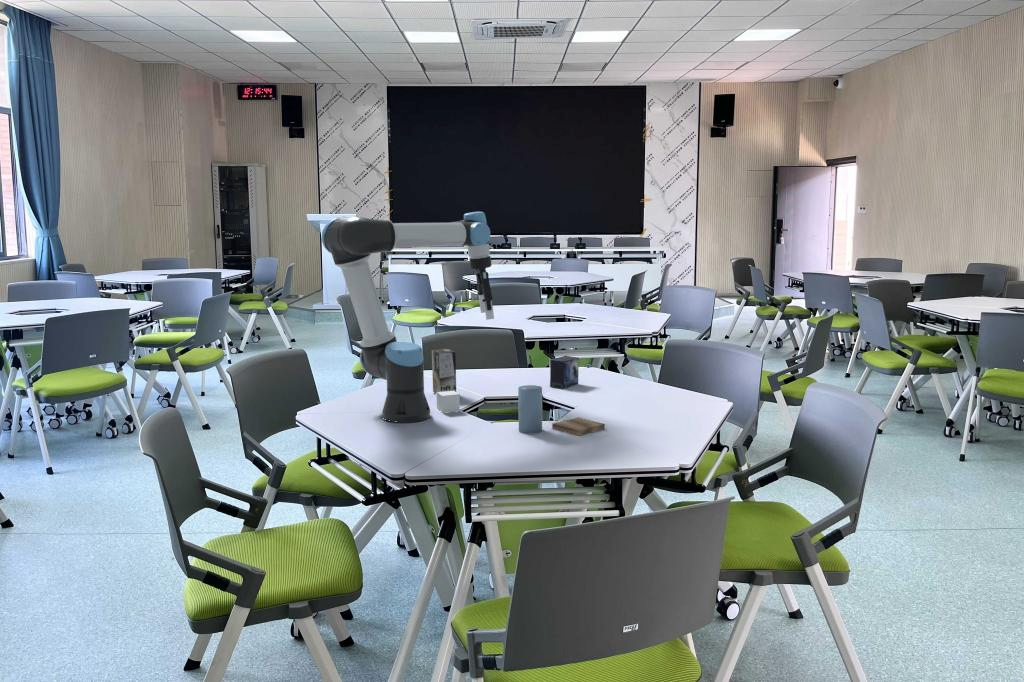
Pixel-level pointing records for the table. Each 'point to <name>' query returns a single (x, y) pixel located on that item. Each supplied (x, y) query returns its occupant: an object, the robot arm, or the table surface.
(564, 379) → the small box
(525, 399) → the grey cylinder
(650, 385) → the table surface
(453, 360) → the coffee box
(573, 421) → the board
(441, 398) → the grey cube
